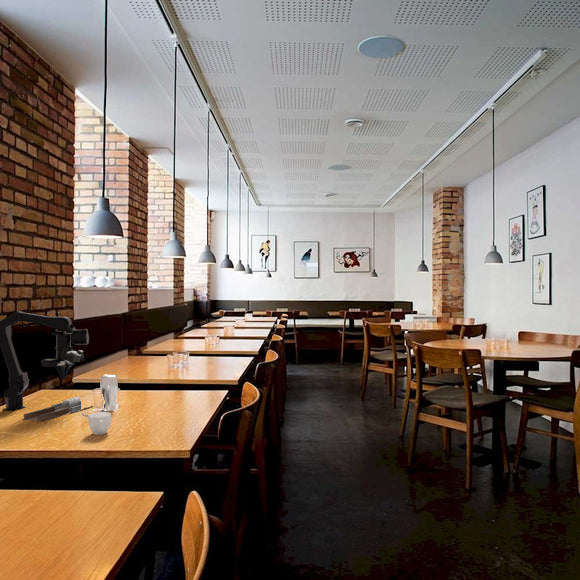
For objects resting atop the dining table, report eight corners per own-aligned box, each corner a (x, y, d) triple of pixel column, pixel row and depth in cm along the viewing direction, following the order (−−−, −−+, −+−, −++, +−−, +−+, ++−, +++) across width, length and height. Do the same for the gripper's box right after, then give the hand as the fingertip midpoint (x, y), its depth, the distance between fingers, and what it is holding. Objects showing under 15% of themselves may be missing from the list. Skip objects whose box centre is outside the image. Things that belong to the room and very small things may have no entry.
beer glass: (120, 408, 208) (120, 374, 208) (113, 412, 201) (113, 377, 201) (105, 408, 209) (105, 374, 209) (97, 412, 202) (97, 377, 202)
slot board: (20, 419, 190) (20, 413, 190) (72, 405, 214) (72, 399, 214) (42, 423, 186) (42, 416, 186) (93, 407, 210) (93, 401, 210)
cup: (110, 428, 179) (110, 410, 178) (112, 436, 170) (112, 417, 169) (87, 431, 175) (87, 413, 175) (89, 439, 166) (89, 420, 166)
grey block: (69, 407, 208) (69, 398, 208) (77, 405, 212) (77, 396, 211) (76, 408, 206) (76, 399, 206) (83, 406, 210) (83, 397, 210)
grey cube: (62, 409, 204) (62, 400, 204) (69, 407, 208) (69, 398, 208) (69, 410, 203) (69, 401, 203) (76, 408, 206) (76, 399, 206)
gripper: (58, 348, 200) (58, 385, 200) (93, 343, 217) (93, 377, 217) (40, 347, 204) (40, 383, 204) (75, 342, 221) (75, 375, 221)
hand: (63, 379), depth 212 cm, fingers closed
